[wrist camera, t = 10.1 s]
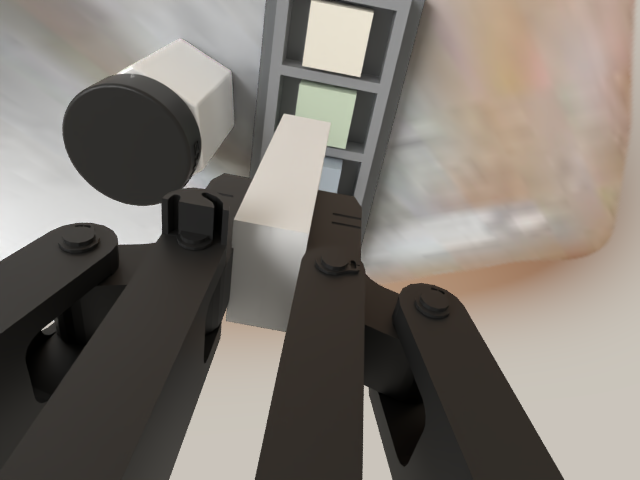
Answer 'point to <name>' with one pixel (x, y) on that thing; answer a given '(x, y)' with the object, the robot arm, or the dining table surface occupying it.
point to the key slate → (330, 174)
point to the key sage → (327, 108)
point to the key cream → (337, 37)
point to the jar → (150, 124)
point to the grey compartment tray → (372, 86)
